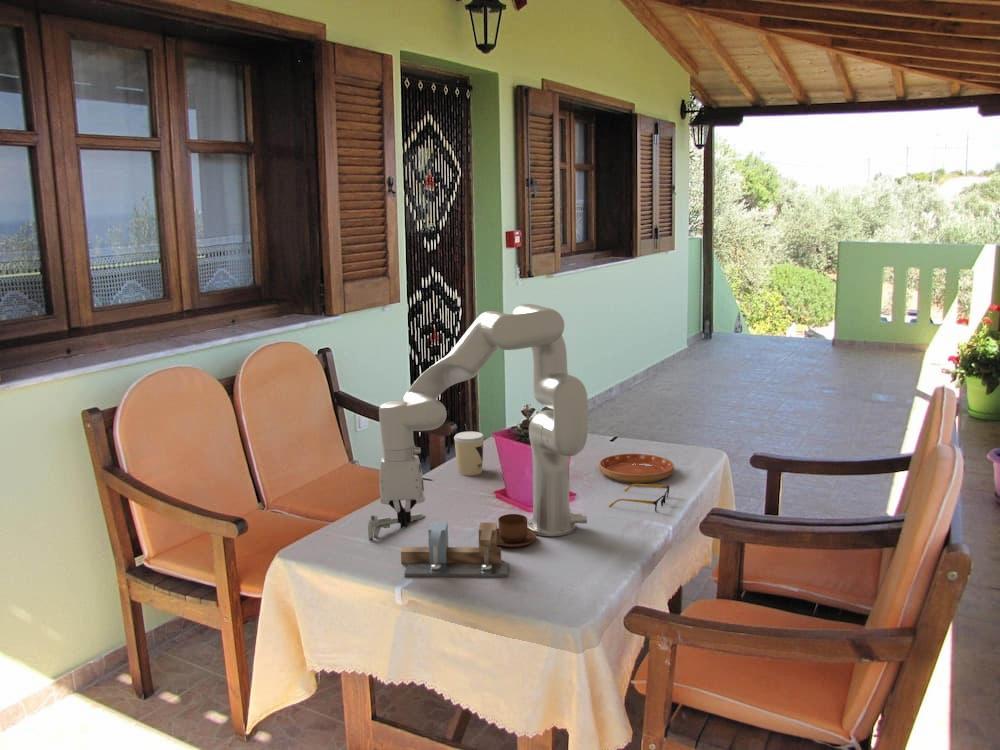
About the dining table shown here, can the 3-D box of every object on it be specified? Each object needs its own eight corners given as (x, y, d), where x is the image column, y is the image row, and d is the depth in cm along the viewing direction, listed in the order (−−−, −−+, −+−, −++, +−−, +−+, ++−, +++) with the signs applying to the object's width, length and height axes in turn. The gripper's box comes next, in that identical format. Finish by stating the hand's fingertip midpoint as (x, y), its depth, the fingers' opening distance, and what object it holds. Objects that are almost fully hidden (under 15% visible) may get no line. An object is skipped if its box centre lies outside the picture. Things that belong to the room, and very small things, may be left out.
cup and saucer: (481, 539, 238) (480, 516, 237) (521, 529, 244) (521, 507, 243) (504, 554, 228) (504, 531, 227) (545, 544, 234) (545, 521, 232)
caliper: (371, 541, 239) (370, 517, 237) (368, 540, 239) (367, 516, 238) (425, 517, 255) (424, 495, 253) (422, 516, 255) (421, 494, 254)
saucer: (600, 462, 300) (600, 451, 299) (672, 464, 297) (672, 453, 296) (597, 485, 278) (597, 473, 277) (675, 487, 275) (675, 475, 274)
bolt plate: (508, 566, 220) (508, 560, 220) (507, 577, 215) (507, 570, 214) (408, 566, 222) (408, 559, 222) (404, 576, 216) (404, 570, 216)
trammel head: (448, 556, 227) (447, 522, 225) (443, 574, 216) (442, 539, 214) (432, 555, 227) (431, 522, 225) (426, 574, 216) (424, 539, 214)
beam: (501, 557, 226) (500, 522, 224) (498, 576, 215) (498, 539, 213) (403, 556, 227) (402, 522, 226) (396, 575, 217) (394, 539, 215)
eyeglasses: (658, 515, 253) (658, 501, 253) (608, 508, 259) (608, 494, 259) (672, 498, 266) (672, 485, 265) (623, 492, 272) (623, 479, 271)
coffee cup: (484, 476, 288) (483, 439, 286) (454, 476, 288) (453, 439, 286) (485, 467, 297) (484, 430, 295) (455, 467, 297) (454, 431, 295)
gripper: (432, 447, 223) (437, 518, 227) (370, 449, 224) (377, 520, 228) (427, 457, 215) (433, 530, 219) (364, 459, 216) (371, 532, 221)
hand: (405, 525), depth 224 cm, fingers closed
